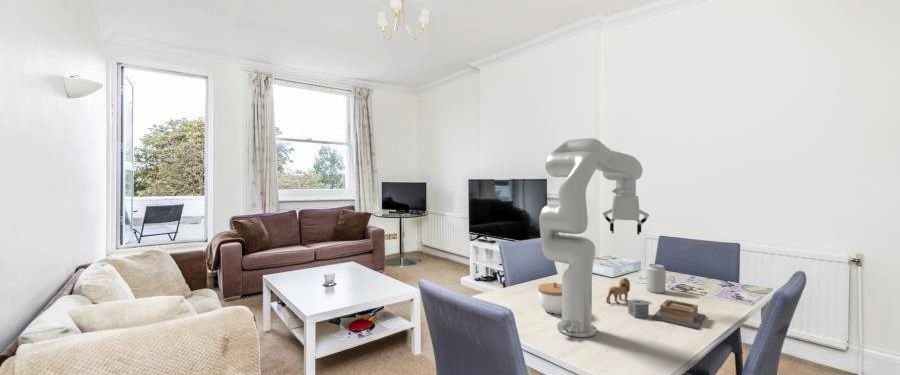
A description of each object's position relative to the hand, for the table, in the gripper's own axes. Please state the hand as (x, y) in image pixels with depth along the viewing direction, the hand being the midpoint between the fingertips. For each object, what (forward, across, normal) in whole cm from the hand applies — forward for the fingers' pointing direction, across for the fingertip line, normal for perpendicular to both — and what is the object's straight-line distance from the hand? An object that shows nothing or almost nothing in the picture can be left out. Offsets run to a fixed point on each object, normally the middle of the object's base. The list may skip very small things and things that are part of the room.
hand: (625, 233), depth 155 cm
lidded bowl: (+28, -25, -24) cm, 45 cm away
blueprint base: (+28, +18, -13) cm, 36 cm away
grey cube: (+29, +4, -16) cm, 33 cm away
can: (+29, +13, +20) cm, 38 cm away
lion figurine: (+29, -2, -1) cm, 29 cm away
